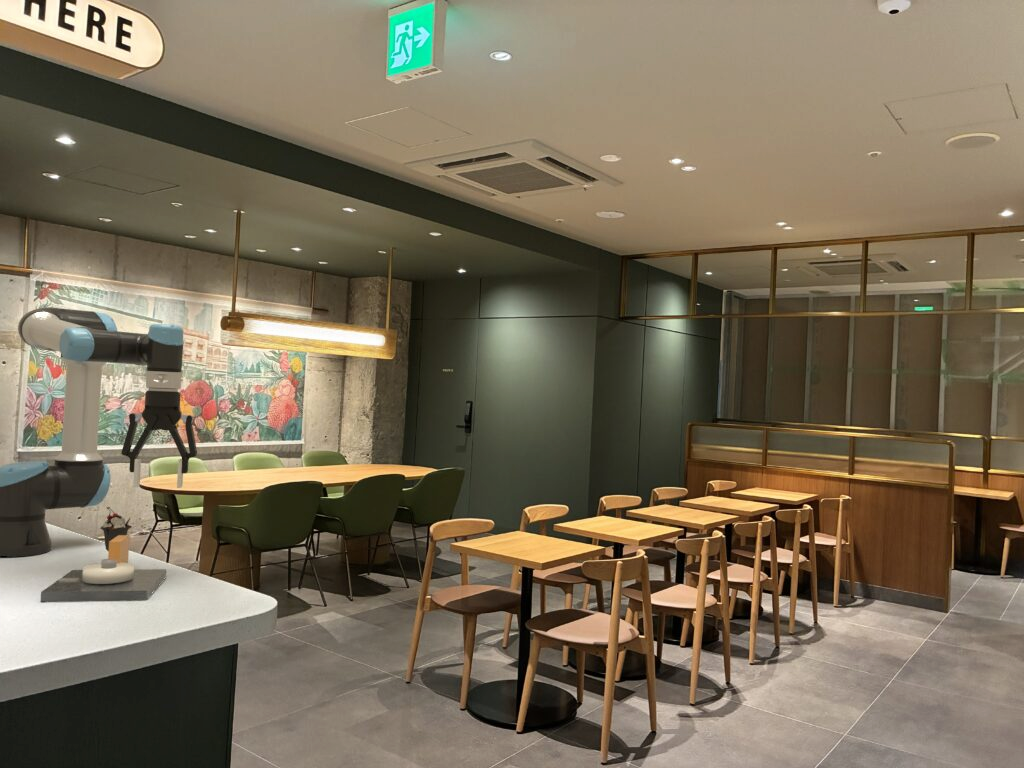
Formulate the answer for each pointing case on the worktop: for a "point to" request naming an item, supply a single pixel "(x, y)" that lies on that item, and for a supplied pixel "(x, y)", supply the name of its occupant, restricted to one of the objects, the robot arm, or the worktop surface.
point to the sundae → (114, 527)
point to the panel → (104, 587)
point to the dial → (111, 564)
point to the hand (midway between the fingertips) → (158, 486)
